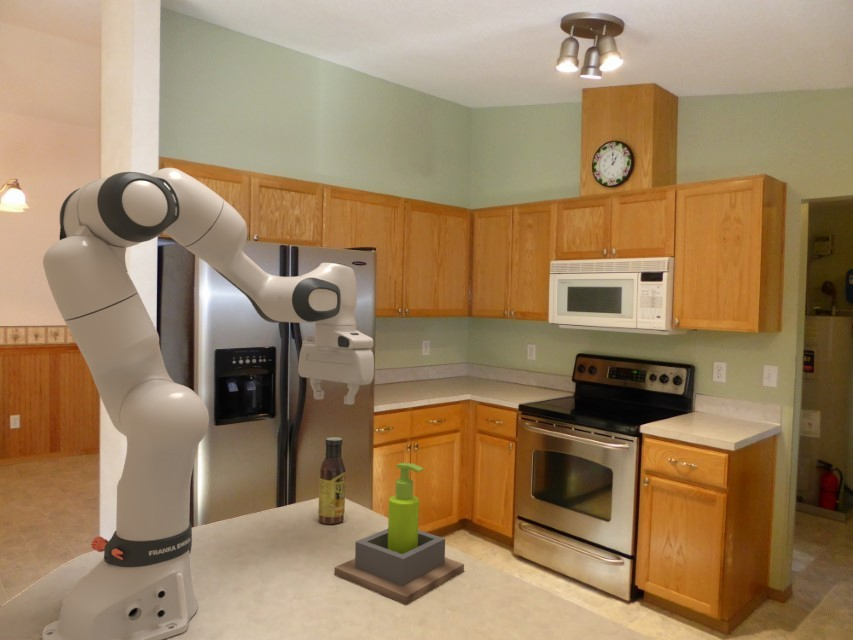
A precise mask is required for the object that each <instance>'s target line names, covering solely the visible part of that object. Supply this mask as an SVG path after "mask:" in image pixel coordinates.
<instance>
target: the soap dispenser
mask: <svg viewBox="0 0 853 640" xmlns="http://www.w3.org/2000/svg"><path fill="white" fill-rule="evenodd" d="M396 468H397V469H400V473H399V474H400V475H399V476H400V477H399V478H397V480H396V481H395V494H394V495H392V496H390V497H389V498H388V517H387V519H388V524H387V525H388V526H387V529H388V549H389V550H392V551H394V552H397V553H400V554H404V553H406V552H408V551H410V550H412V549H415V548H417V547H418V530H419V514H420V513H419V512H420V511H419V510H420V498H419V497H417V496H416V495H413V494H414V480H412V479H411V478H410V471H413V472H416V473H420V472H423V471H424V470H425V468H423V467H422V466H420V465H417V464H415V463H410V462H409V463H408V462H401V463H397V464H396Z"/></svg>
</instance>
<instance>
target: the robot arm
mask: <svg viewBox="0 0 853 640" xmlns="http://www.w3.org/2000/svg"><path fill="white" fill-rule="evenodd" d="M59 227H60V229H59V240H57V241H56V242H55V243H53V244H52V245H51V246H50V247H49V248H48V249H47V250H46V252H45V253H44V256H43V260H42V265H43V270H44V273H45V277H46V281H47V283H48V286H49V289H50V291H51V294H52V297H53V299H54V301H55V304H56V306H57V309H58V311H59V313H60V315H61V317H62V319H63V320H64V323H65V325H66V327H67V328H68V330H69V332H70V334H71V336H72V338H73V339H74V341H75V343H76V345H77V347H78V349H79V351H80V353H81V355H82V357H83V359H84V360H85V363H86V364H87V366H88V369H89V371H90V374H91V376H92V379H93V382H94V384H95V387H96V389H97V392H98V394H99V397H100V399H101V401H102V404H103V406H104V408H105V411H106V413H107V414H108V416H109V419H110V421H111V423H112V425H113V427H114V429H116V430H117V431H118V432H119V433H120V434H122V435H123V436H125V437H126V442H127V446H126V455H125V460H124V465H123V468H122V472H121V477H120V478H119V480H118V482H117V486H116V515H115V518H116V520H115V521H116V523H115V527H116V528H115V531H114V532H113V534H112V536H111V538H110V539H109V540H108V539H106V538H104V537H103V536H95V538H93V539H92V541H91V542H90V543H91V544H90V547H91V549H93V550H95V551H96V552H98V553H102V552H103V558H102V559H101V560H100V562H98V563H97V564H96V565H95V566H93V568H92V569H91V570H89V572H88V573H86V574H85V576H83V577H82V578H81V579H80V580H79V581H77V583H76V584H75V585H73V586H72V587H71V588H69V590H67V592H66V594H64V597H63V600H62V604H61V606H60V607H61V608H60V610H59V617H58V619H57V620H55V621H53V622H50V623H48V624H47V625H45V626H44V628H43V629H42V633H41V640H165V639H168V638H171V637H173V636H176V635H179V634H182V633H183V634H184V633H185V632H186V631H187V630H188V627H189V622H190V620H191V618H192V617H193V616H194V615H195V614H196V612H197V611H198V607H199V604H198V601H197V597H196V594H195V590H194V585H193V580H192V571H191V560H190V559H191V558H190V554H191V551H192V546H193V545H192V544H193V533H192V532H193V527H192V523H191V522H190V509H191V508H190V507H191V506H190V505H191V504H190V503H191V481H192V475H193V469H194V465H195V460H196V456H197V453H198V449H199V444H200V443H201V442H202V440H203V439H204V437H205V436H206V433H207V432H208V429H209V424H210V414H209V410H208V408H207V406H206V404H205V403H204V401H203V400H202V398H201V397H200V396H199V395H198V394H197V393H196V392H195V391H194V390H192V389H191V388H190V387H188V386H185V385H183V384H179V383H176V382H175V381H174V380H173V379H172V378H171V376H170V375H169V373H168V371H167V369H166V365H165V362H164V358H163V355H162V351H161V347H160V346H161V345H160V336H159V333H158V330H157V329H156V326H155V325H154V323H153V321H152V319H151V316H150V315H149V312H148V311H147V308H146V306H145V304H144V302H143V300H142V298H141V295H140V294H139V292H138V290H137V288H136V286H135V284H134V282H133V279H132V278H131V276H130V275H129V271H128V269H127V268H128V267H127V263H126V252H127V248H131V247H133V246H137V245H139V244H141V243H145V242H148V241H152V240H154V239H155V238H157V237H158V236H160V235H161V234H165V235H167V236H169V237H170V238H171V239H172V240H174V241H175V242H176V243H178V244H179V245H181V247H184V248H185V249H186V250H187V251H188V252H190V253H191V254H193V255H194V256H196V257H197V258H199V259H200V260H202V261H203V262H205V263H206V264H207V265H209V266H210V267H211V268H212V269H213V270H215V271H216V272H217V273H218V274H219V275H220V276H221V277H223V278H224V279H225V280H226V281H228V282H229V283H230V284H231V285H232V286H234V287H235V288H236V289H237V290H238V291H240V292H241V293H242V294H243V295H244V296H245V297H246V298H247V299H248V300H249V301H250V303H251V305H252V307H253V308H254V310H255V312H256V313H257V314H258V316H260V317H261V318H262V319H263V320H264V321H266V322H269V323H273V324H276V323H277V324H279V323H301V324H302V323H303V324H305V323H306V324H311V323H314V336H311V335H308V336H306V338H304V340H303V341H302V342H301V343H302V344H301V349H300V351H299V358H298V370H297V371H298V374H299V376H300V378H306V379H307V378H309V383H310V386H311V389H312V391H313V399H314V400H319V401H320V400H323V399H324V398H325V396H324V395H325V391H324V390H322V387H321V384H320V383H322V380H323V381H327V382H329V381H330V382H335V383H342V384H343V383H344V384H347V389H348V392H347V394H346V395H343V404H344V405H348V406H351V405H352V406H353V405H354V404H355V399H356V398H355V396H356V395H357V393H358V391H359V389H360V386H364V385H370V384H372V382H373V380H374V377H375V359H374V353H373V350H371V349H372V348H373V347H374V339H373V338H372V337H370V336H369V335H367V334H365V333H363V332H361V331H360V330H357V321H356V318H355V314H356V313H355V311H356V308H357V301H358V299H357V296H358V294H357V293H358V288H357V279H356V275H355V271H354V269H353V268H352V267H350V266H349V265H346V264H344V263H342V262H341V263H340V262H336V261H335V262H334V261H325V262H324V261H323V262H321V263H320V264H319V266H317V267H316V268H314V269H313V270H311V271H310V272H307V273H304V274H302V275H297V276H279V275H273V274H270V273H267V272H266V271H265V270H263V269H262V268H261V267H260V266H259V265H258V264H257V263H256V262H254V261H253V260H252V259H251V258H250V257H249V256H248V255H247V254H245V252H244V251H243V249H244V247H245V246H246V243H247V239H248V227H247V223H246V220H245V219H244V218H243V217H242V215H240V213H239V212H238V210H236V209H235V207H233V206H232V205H231V204H229V203H228V201H226V200H225V199H224V198H223V197H221V196H220V195H219V194H218V193H216V192H215V191H214V190H212V189H211V188H209V187H208V186H207V185H205V184H204V183H202V182H201V181H199V180H198V179H196V178H194V177H193V176H191V175H190V174H187V173H186V172H184V171H182V170H181V169H178V168H176V167H175V168H174V167H165V168H161V169H158V170H156V171H154V172H153V173H151V174H150V175H149V174H147V173H143V172H137V171H124V172H121V171H120V172H117V173H114V174H113V175H111V176H108V177H100V178H97V179H96V178H95V180H91V182H88V183H86V184H85V185H83V186H82V187H79V188H77V189H75V190H74V191H72V192H71V193H69V194H68V195H67V197H66V198H65V200H64V201H63V202H62V204H61V207H60V210H59Z"/></svg>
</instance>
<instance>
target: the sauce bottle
mask: <svg viewBox="0 0 853 640" xmlns="http://www.w3.org/2000/svg"><path fill="white" fill-rule="evenodd" d="M342 446H343V438H342V437H337V436H333V437H327V438H325V458H324V460H323V461H322V463H321V465H320V474H319V484H318V485H319V487H318V511H317V512H318V521H319V522H320V523H322V524H325V525H326V524H327V525H335V524H339V523H341V522H343V521H344V515H345V507H346V506H345V504H346V482H347V481H346V480H347V479H346V478H347V477H346V476H347V471H346V468H345V464H344V460H343V458H342Z"/></svg>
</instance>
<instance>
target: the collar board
mask: <svg viewBox="0 0 853 640" xmlns="http://www.w3.org/2000/svg"><path fill="white" fill-rule="evenodd" d="M354 545H355V546H354V547H355V551H354V552H355V553H354V558H352V559H350V560H348V561H345V562H343V563H340V564H338V565H335V566H334V573H333V574H334V576H336V577H338V578H341V579H343V580H346V581H349V582H350V583H352V584H355V585H357V586H360V587H362V588H365V589H367V590H369V591H371V592H374V593H376V594H378V595H381V596H384V597H385V598H388V599H391V600H393V601H395V602H398V603H400V604H403V605H405V606H407V605H409V604H411V603H412V602H414V601H417V599H419V598H421V597H422V596H424V595H426V594H427V593H429V592H431V591H433V590H435V589H436V588H438V587H439V586H442V585H444V584H445V583H447V582H448V581H450V580H451V579H454V578H455V577H457V576H459V575H460V574H462V573H464V572H465V563H462V562H460V561H456V560H453V559H451V558H448V557H446V538H444V537H441V536H437V535H435V534H432V533H429V532H427V531H426V532H425V531H423V530H420V529H418V547H417V548H415V549H412V550H410V551H408V552H406V553H404V554H400V553H397V552H394V551H392V550H389V549H388V528H386V529H384V530H381V531H379V532H376V533H374V534H371V535H369V536H366V537H363V538H362V539H359V540H357V541H355V544H354Z"/></svg>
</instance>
